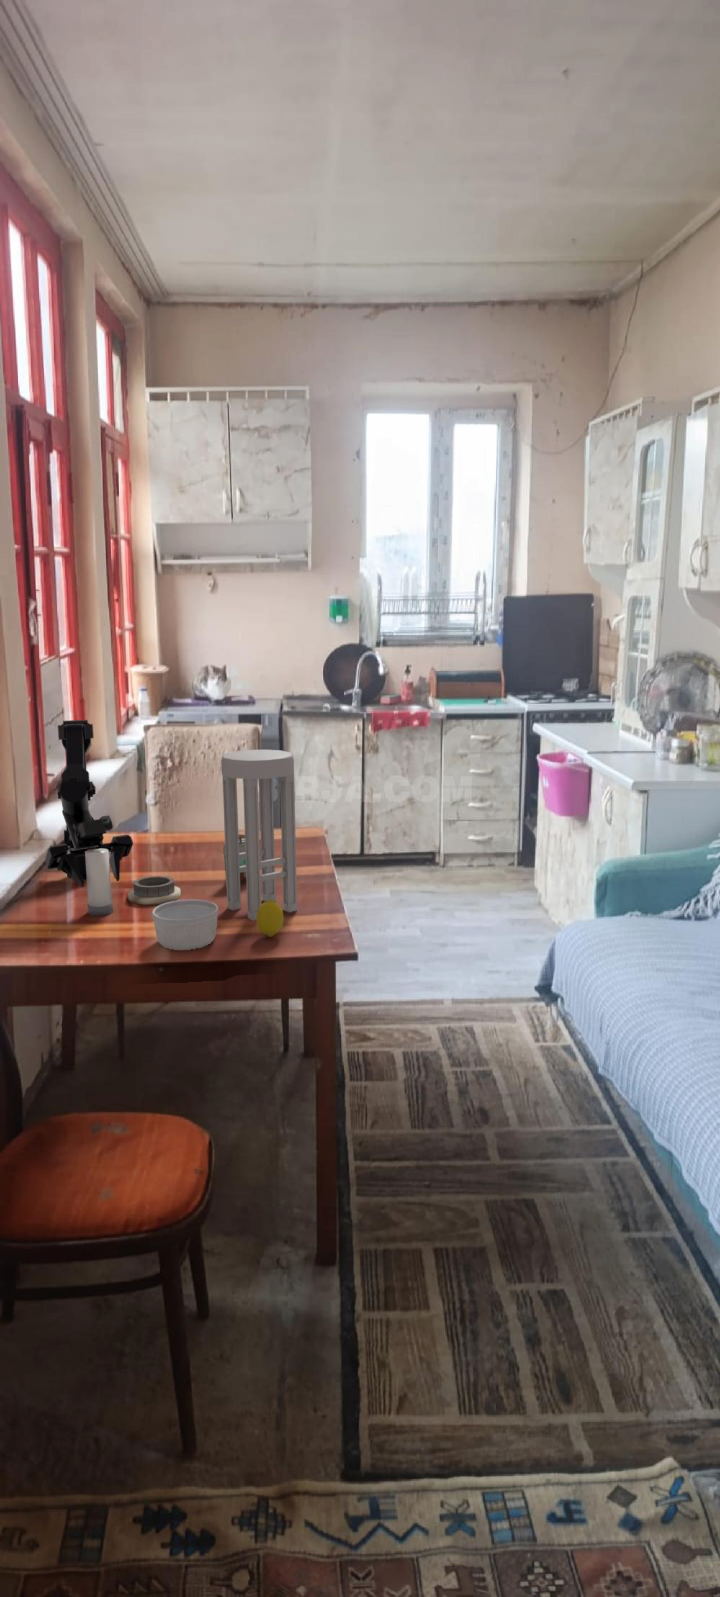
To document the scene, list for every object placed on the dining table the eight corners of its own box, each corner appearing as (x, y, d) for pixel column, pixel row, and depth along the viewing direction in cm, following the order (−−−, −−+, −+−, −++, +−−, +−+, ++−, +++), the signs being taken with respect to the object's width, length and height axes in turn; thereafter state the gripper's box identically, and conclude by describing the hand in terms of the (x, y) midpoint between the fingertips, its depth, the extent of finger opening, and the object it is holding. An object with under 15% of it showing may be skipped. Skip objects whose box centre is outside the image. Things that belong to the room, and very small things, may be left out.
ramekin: (182, 958, 192) (180, 923, 191) (140, 943, 201) (138, 910, 199) (232, 940, 202) (231, 907, 201) (190, 926, 210) (189, 895, 209)
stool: (214, 907, 223) (208, 753, 216) (273, 894, 232) (269, 746, 225) (249, 925, 211) (244, 762, 204) (310, 911, 220) (307, 755, 213)
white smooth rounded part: (83, 914, 219) (78, 853, 216) (97, 907, 224) (94, 847, 221) (103, 917, 217) (99, 855, 214) (118, 909, 222) (114, 849, 219)
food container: (248, 887, 239) (247, 846, 237) (224, 885, 240) (222, 845, 238) (263, 873, 250) (262, 834, 248) (240, 872, 252) (239, 833, 250)
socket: (117, 901, 228) (117, 885, 227) (147, 887, 239) (146, 872, 238) (162, 906, 224) (162, 891, 223) (190, 892, 235) (189, 877, 234)
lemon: (257, 933, 206) (256, 896, 204) (283, 932, 206) (283, 895, 205) (256, 942, 200) (255, 904, 199) (284, 941, 201) (283, 903, 199)
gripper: (45, 810, 214) (65, 870, 207) (127, 799, 224) (149, 857, 217) (36, 838, 222) (56, 897, 215) (116, 827, 232) (137, 883, 225)
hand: (101, 883), depth 218 cm, fingers open, 8 cm apart
